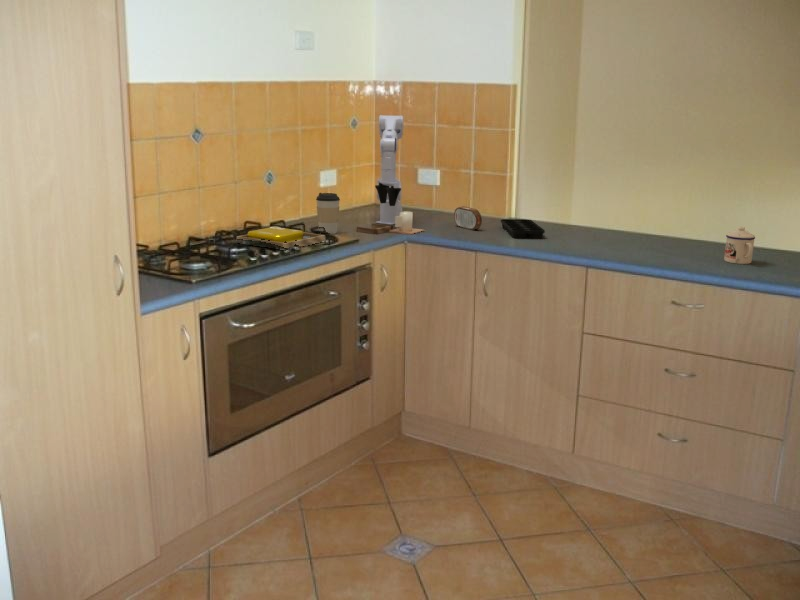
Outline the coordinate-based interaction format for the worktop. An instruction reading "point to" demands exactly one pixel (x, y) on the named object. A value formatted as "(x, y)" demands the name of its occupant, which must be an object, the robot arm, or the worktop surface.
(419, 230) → the plate
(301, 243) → the corral
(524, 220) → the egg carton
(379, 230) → the holder
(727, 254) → the teacup with lid
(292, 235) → the element tile
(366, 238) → the worktop surface
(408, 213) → the jug
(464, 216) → the brown speaker
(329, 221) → the coffee cup
